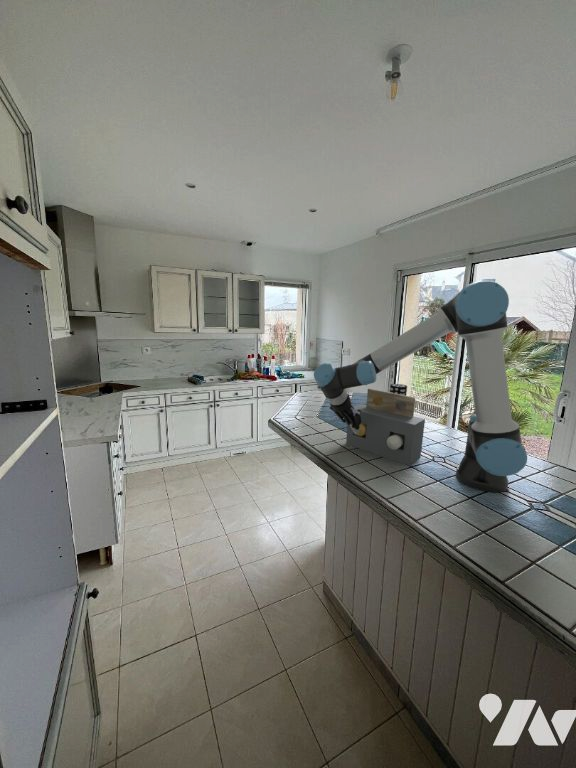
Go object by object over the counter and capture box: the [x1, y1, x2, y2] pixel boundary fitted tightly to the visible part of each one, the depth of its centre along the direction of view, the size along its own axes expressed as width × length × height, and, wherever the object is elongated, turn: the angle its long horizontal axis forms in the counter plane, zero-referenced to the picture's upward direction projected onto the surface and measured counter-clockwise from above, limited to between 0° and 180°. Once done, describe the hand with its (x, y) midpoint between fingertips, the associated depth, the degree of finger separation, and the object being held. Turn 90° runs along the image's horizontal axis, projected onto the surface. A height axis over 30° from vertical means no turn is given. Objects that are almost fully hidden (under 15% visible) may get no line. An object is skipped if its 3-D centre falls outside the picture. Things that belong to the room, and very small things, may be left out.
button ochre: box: [358, 423, 367, 436], centre depth 130 cm, size 4×5×5 cm
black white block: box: [389, 383, 408, 396], centre depth 163 cm, size 8×8×20 cm
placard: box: [365, 388, 416, 418], centre depth 127 cm, size 1×20×8 cm, turn 46°
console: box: [345, 403, 426, 467], centre depth 127 cm, size 10×28×16 cm, turn 46°
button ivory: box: [387, 434, 404, 450], centre depth 117 cm, size 4×5×5 cm
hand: (357, 431), depth 129 cm, fingers closed
